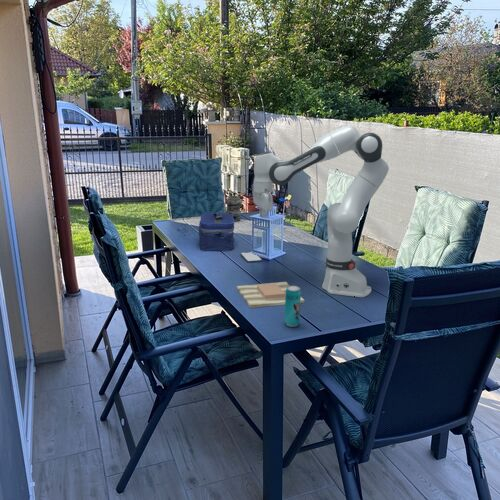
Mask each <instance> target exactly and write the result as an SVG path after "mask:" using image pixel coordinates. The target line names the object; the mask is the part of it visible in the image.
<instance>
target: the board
mask: <svg viewBox="0 0 500 500" xmlns="http://www.w3.org/2000/svg"><path fill="white" fill-rule="evenodd" d="M265 284H277V285H278V286H279V287H280V288H281V289H282V291H283V292H284V293H285V294H286V290H287V289H286V288H287V287H288V286H291V285H290V284H288V282H287V281H278V282H269V283H267V282H266V283H257V284H256V283H255V284H244V285H236V289H237V292H239V294H240V295H241V296H242V298H243V299H244V300H245V302H246V304H247V305H248V307H249V308H250V309H255V308H264V307H265V308H266V307H274V306H275V307H276V306H285V299H278V300H267V301H265V300H264V298H263V297H262V296H261V295H260V293H259V292H258V291H257V285H265ZM300 304H305V299H304V298H303V297H302V296H301V299H300Z"/></svg>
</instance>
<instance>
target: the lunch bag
mask: <svg viewBox="0 0 500 500" xmlns="http://www.w3.org/2000/svg"><path fill="white" fill-rule="evenodd" d="M234 230H235V222H234V219H233V216H232V214H225V213H222V212H202V213H201V215H200V220H199V223H198V237H199V249H200V250H201V251H202V252H227V251H228V252H229V251H233V250H234V249H235V244H234V242H235V238H234Z"/></svg>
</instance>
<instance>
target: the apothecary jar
mask: <svg viewBox="0 0 500 500" xmlns="http://www.w3.org/2000/svg"><path fill="white" fill-rule="evenodd" d="M225 204H226V206H227V207H226V210H225V212H224V214H232V216H233V219H234V223H238V222H240V221H241V220H240V219H239V218H238V217H241V215H242V211H241V204H242V200H241V199H240V196H239V195H229V196H227V199H226V200H225Z"/></svg>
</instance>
